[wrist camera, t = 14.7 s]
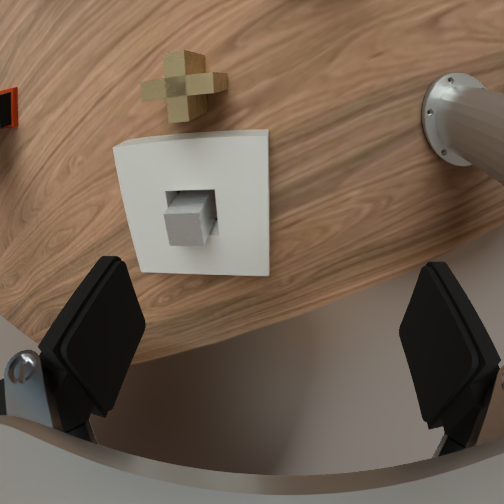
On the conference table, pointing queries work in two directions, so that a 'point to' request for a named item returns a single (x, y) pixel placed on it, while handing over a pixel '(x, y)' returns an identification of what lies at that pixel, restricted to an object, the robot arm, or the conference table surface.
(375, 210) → the conference table surface
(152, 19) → the conference table surface
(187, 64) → the cross bar
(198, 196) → the square bar
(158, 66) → the conference table surface
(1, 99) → the power tool
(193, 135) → the socket block
